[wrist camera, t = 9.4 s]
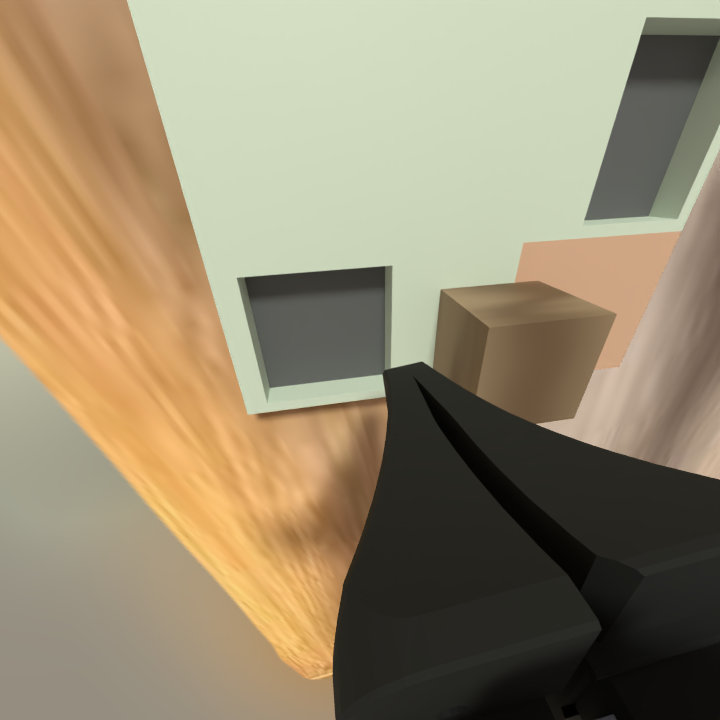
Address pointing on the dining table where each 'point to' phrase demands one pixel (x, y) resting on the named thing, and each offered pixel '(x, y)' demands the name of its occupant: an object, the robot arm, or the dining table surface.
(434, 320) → the board
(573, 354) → the block
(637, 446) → the dining table surface
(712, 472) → the dining table surface
